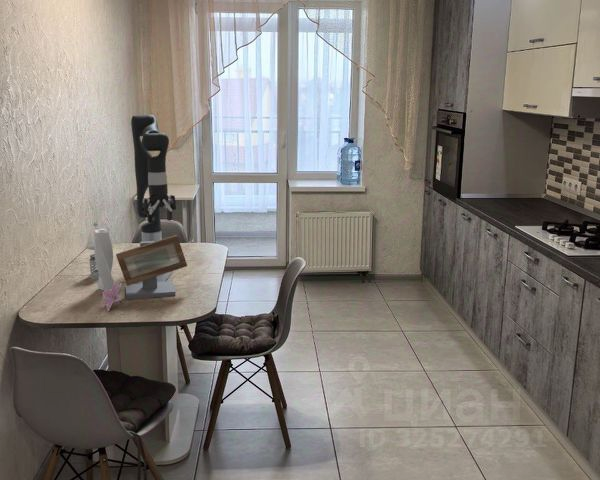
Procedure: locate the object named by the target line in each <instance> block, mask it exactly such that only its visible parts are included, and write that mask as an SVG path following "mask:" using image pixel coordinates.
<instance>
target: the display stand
mask: <svg viewBox="0 0 600 480" xmlns="http://www.w3.org/2000/svg"><path fill="white" fill-rule="evenodd" d="M152 242H155V241H144V242H142V241H139V247H140V246H143V245H146V244H149V243H152ZM169 296H170V297H171V296H176V288H175V284H174V281H173V280H167V281H164V282H157V276H156V277H153V278H150V279H147V280H144V281H142V283H139V284H132V285H129V286H127V284H126V283H125V299H126V300H135V299H136V300H138V299H146V298H147V299H149V298H158V297H159V298H162V297H169Z"/></svg>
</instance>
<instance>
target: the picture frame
mask: <svg viewBox="0 0 600 480" xmlns="http://www.w3.org/2000/svg"><path fill="white" fill-rule="evenodd" d="M115 256H116V259H117V262H118V265H119V268H120V269H121V273H122V275H123V278H124V280H125V281H124V282H125V285H126V284H127V286H129V285H132V284H135V283H138V282H141V281H144V280H147V279H150V278H153V277H156V276H159V275H162V274H165V273H168V272H171V271H173V272H174V271H177V270H179V269H180V270H181V269H183V268H186V267H188V264H187V260H186V258H185V255H184V252H183V248H182V245H181V243H180V240H179V237H178V234H175V235H171V236H167V237H165V238H162V239H161V240H158V241H155V242H152V243H149V244H146V245H143V246H140V245H139V246H136V247H134V248H131V249H128V250H125V251H121V252H117V253H116V254H115Z"/></svg>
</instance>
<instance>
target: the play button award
mask: <svg viewBox="0 0 600 480" xmlns="http://www.w3.org/2000/svg"><path fill="white" fill-rule="evenodd" d="M173 273H174V271H171V272H168V273H165V274H162V275H159V276H157V282H164V281H169V279H170V277H172V275H173ZM139 283H142V281H141V282H138V283H135V284H139Z"/></svg>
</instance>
